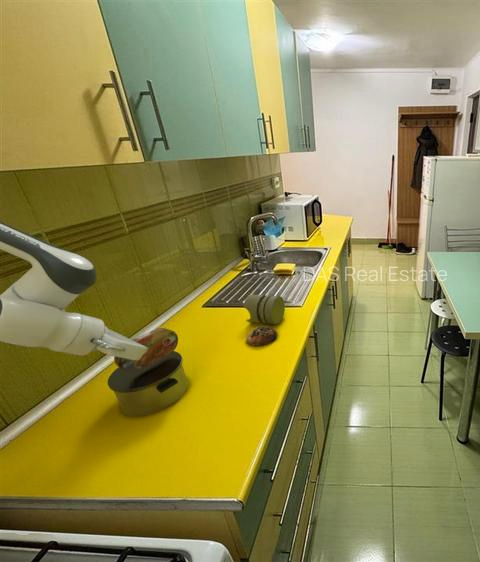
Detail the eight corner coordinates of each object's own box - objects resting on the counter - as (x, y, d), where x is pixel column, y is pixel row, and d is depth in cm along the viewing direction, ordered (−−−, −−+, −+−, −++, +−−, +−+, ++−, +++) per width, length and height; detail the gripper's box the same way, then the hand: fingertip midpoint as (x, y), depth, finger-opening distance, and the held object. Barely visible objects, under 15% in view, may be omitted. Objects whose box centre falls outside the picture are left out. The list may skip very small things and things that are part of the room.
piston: (260, 313, 132) (255, 290, 127) (286, 315, 130) (282, 291, 125) (246, 327, 121) (240, 302, 117) (274, 329, 119) (269, 304, 115)
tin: (123, 378, 78) (114, 351, 75) (116, 374, 80) (107, 347, 76) (181, 349, 91) (176, 325, 87) (174, 345, 92) (169, 322, 89)
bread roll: (275, 344, 109) (271, 332, 108) (244, 351, 109) (240, 339, 107) (279, 329, 120) (276, 318, 118) (251, 335, 119) (247, 324, 117)
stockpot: (105, 402, 85) (92, 376, 81) (167, 367, 99) (158, 343, 95) (143, 429, 77) (130, 400, 73) (205, 386, 90) (197, 361, 87)
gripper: (113, 333, 67) (170, 346, 79) (71, 313, 76) (128, 328, 87) (95, 361, 65) (157, 370, 77) (55, 337, 74) (116, 349, 85)
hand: (141, 348), depth 82 cm, fingers closed on tin, 2 cm apart
